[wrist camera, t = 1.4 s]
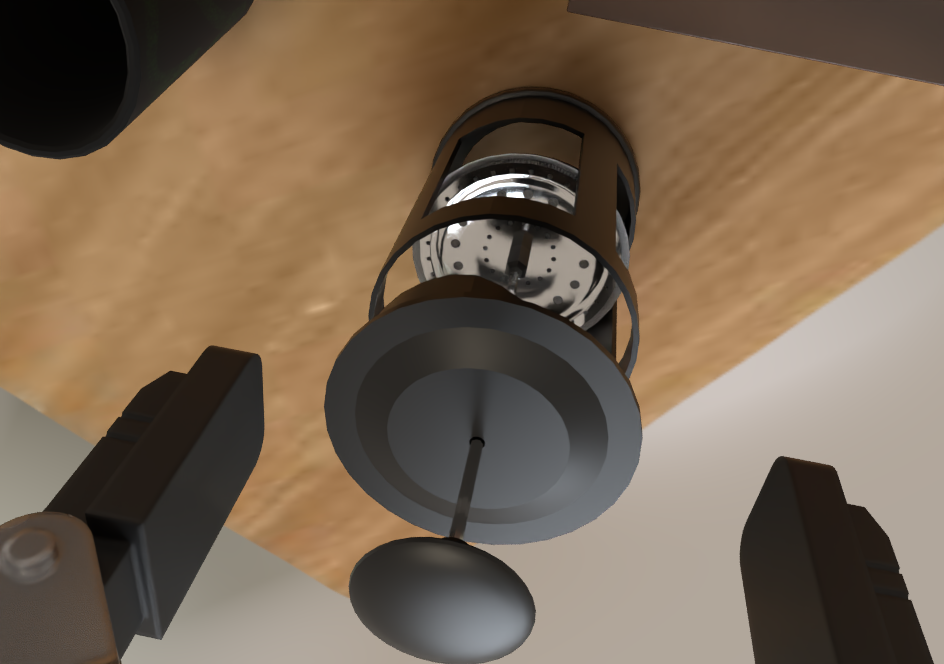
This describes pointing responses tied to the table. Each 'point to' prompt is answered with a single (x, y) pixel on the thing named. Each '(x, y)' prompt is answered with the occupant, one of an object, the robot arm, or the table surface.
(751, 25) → the cabinet
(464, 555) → the french press
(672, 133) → the table surface
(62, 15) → the cup
